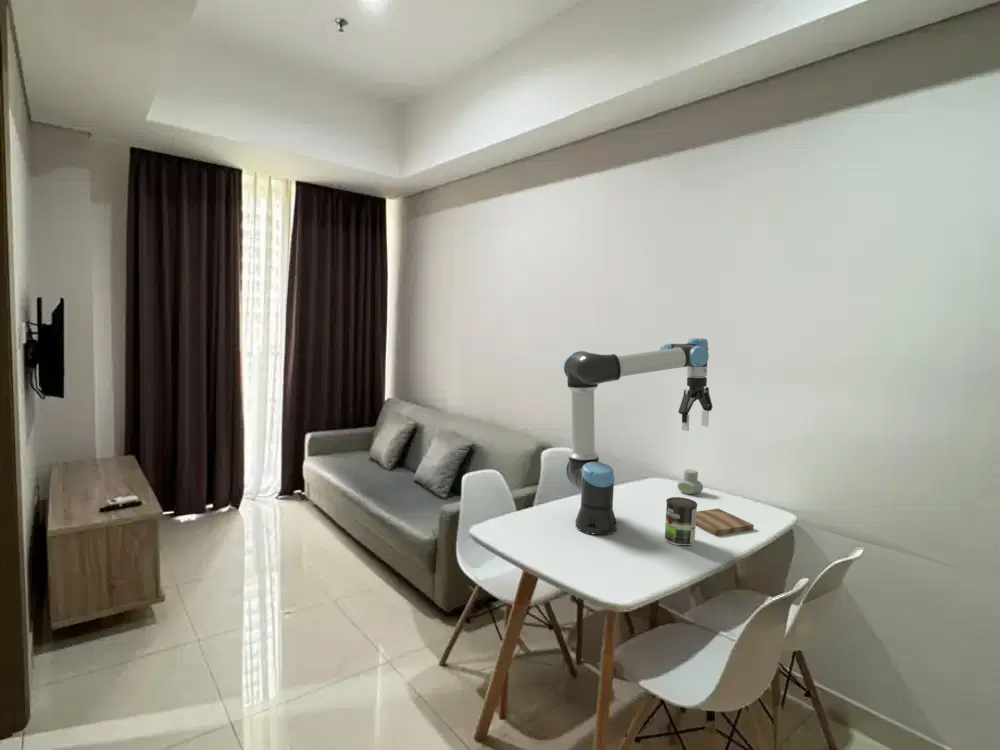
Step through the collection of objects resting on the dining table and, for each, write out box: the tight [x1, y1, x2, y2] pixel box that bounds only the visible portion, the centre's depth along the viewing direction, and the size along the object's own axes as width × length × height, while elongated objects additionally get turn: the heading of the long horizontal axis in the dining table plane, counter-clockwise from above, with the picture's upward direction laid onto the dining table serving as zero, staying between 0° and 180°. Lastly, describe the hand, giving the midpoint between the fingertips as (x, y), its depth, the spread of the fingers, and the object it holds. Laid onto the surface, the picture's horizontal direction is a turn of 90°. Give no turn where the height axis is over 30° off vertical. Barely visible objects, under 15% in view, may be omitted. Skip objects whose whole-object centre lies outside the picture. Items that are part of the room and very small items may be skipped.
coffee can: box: [664, 496, 698, 546], centre depth 192 cm, size 10×10×14 cm
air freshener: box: [677, 469, 704, 495], centre depth 245 cm, size 11×8×10 cm
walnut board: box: [695, 508, 754, 537], centre depth 209 cm, size 18×18×2 cm
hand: (695, 428), depth 223 cm, fingers open, 13 cm apart
